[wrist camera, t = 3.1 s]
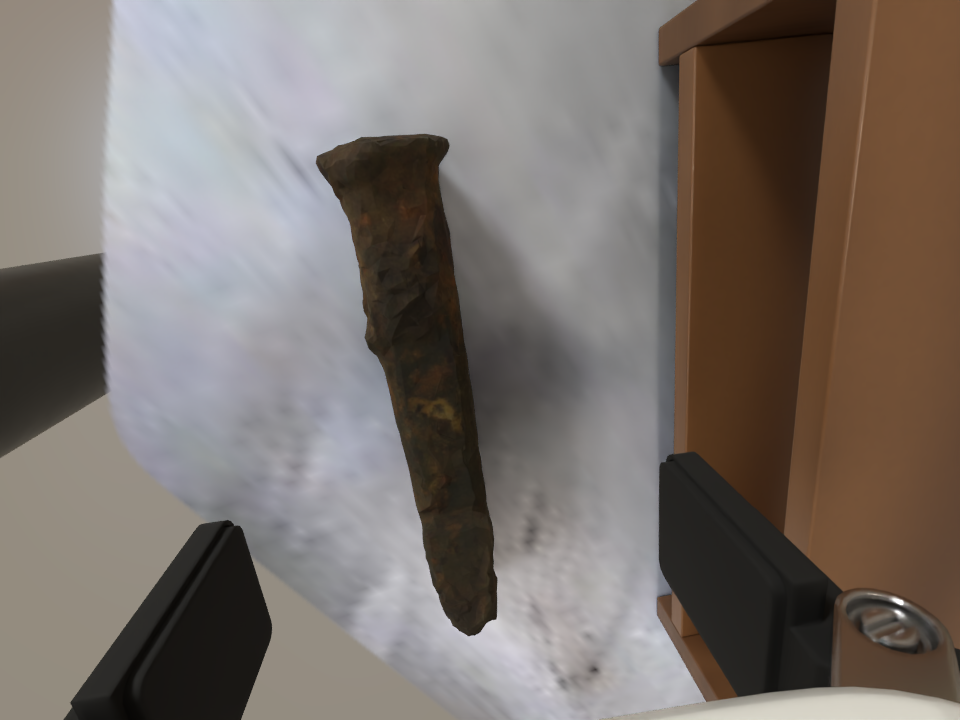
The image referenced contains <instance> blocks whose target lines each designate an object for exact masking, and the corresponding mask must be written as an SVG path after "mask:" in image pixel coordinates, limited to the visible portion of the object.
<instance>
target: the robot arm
mask: <svg viewBox="0 0 960 720" xmlns="http://www.w3.org/2000/svg"><path fill="white" fill-rule="evenodd" d="M659 562H660V567H661V570H662V573H663V575H664V577H665V579H666V581H667V582H668V584H669V585H670V587H671V589H672V590H673V592H674V594H675V595H676V597H677V598H678V600H679V602H680V603H681V605H682V607H683V608H684V610H685V611H686V613H687V615H688V616H689V618H690V620H691V621H692V623H693V624H694V626H695V628H696V629H697V631H698V633H699V634H700V636H701V637H702V639H703V641H704V642H705V644H706V646H707V647H708V649H709V650H710V652H711V654H712V655H713V657H714V659H715V660H716V662H717V664H718V665H719V667H720V668H721V670H722V672H723V673H724V675H725V677H726V678H727V680H728V681H729V683H730V685H731V686H732V688H733V690H734V691H735V693H736V694H737V696H738V697H736V698H729V699H723V700H716V701H709V702H702V703H696V704H689V705H683V706H677V707H671V708H665V709H659V710H653V711H647V712H641V713H635V714H629V715H623V716H617V717H611V718H605V719H599V720H960V649H957V648H954V643H953V640H952V638H951V636H950V634H949V632H948V630H947V628H946V627H945V626H944V625H943V624H942V623H941V622H940V621H939V619H938V618H937V617H935V616H934V615H933V614H931V613H930V612H929V611H927V610H926V609H925V608H923V607H922V606H920V605H918V604H916V603H914V602H913V601H911V600H909V599H907V598H905V597H902V596H899V595H897V594H894V593H891V592H888V591H884V590H879V589H874V588H854V589H850V590H846V591H844V592H843V591H842V590H841V589H840V588H839V587H838V586H837V585H836V584H835V583H834V582H833V581H832V580H831V579H830V578H829V577H828V576H827V575H826V574H824V573H823V572H822V571H821V570H820V569H819V568H818V567H817V566H816V565H815V564H814V563H813V562H812V561H811V560H810V559H809V558H808V557H807V556H806V555H805V554H803V553H802V552H801V551H800V550H799V549H798V548H797V547H796V546H795V545H794V544H793V543H792V542H791V541H790V540H789V539H788V538H787V537H786V536H785V535H784V534H782V533H781V532H780V531H779V530H778V529H777V528H776V527H775V526H774V525H773V524H772V523H771V522H770V521H769V520H768V519H767V518H766V517H765V516H764V515H762V514H761V513H760V512H759V511H758V510H757V509H756V508H754V507H753V506H752V505H751V504H750V503H749V502H748V501H747V500H746V499H745V498H744V497H743V496H742V495H741V494H739V493H738V492H737V491H736V490H735V489H734V488H733V487H732V486H731V485H730V484H729V483H728V482H727V481H726V480H725V479H724V478H723V477H722V476H721V475H720V474H719V473H717V472H716V471H715V470H714V469H713V468H712V467H711V466H710V465H709V464H708V463H707V462H706V461H705V460H704V459H703V458H702V457H701V456H700V455H699V454H697V453H696V452H685V453H679V454H672V455H669V456H668V457H667V459H666V462H662V463H661V464H660V469H659ZM271 634H272V623H271V619H270V616H269V612H268V609H267V606H266V603H265V600H264V597H263V593H262V590H261V587H260V584H259V581H258V578H257V574H256V571H255V568H254V565H253V562H252V558H251V555H250V552H249V549H248V546H247V543H246V539H245V536H244V533H243V530H242V528H241V527H240V526H234V524H233V523H232V522H231V521H229V520H226V521H219V522H212V523H205V524H201V525H199V526H198V527H197V528H196V530H195V531H194V532H193V534H192V535H191V537H190V538H189V539H188V541H187V542H186V543H185V545H184V546H183V548H182V549H181V550H180V552H179V553H178V554H177V556H176V557H175V559H174V560H173V561H172V563H171V564H170V566H169V567H168V568H167V570H166V571H165V572H164V574H163V576H162V577H161V578H160V579H159V581H158V582H157V584H156V585H155V586H154V588H153V589H152V590H151V592H150V593H149V595H148V596H147V597H146V599H145V600H144V602H143V603H142V604H141V606H140V607H139V608H138V610H137V611H136V613H135V614H134V615H133V617H132V618H131V620H130V621H129V622H128V624H127V625H126V627H125V628H124V629H123V631H122V632H121V633H120V635H119V636H118V637H117V639H116V640H115V642H114V643H113V644H112V646H111V647H110V649H109V650H108V651H107V653H106V654H105V655H104V657H103V658H102V660H101V661H100V662H99V664H98V665H97V666H96V668H95V669H94V671H93V672H92V674H91V675H90V676H89V678H88V679H87V680H86V682H85V683H84V684H83V686H82V687H81V689H80V690H79V692H78V693H77V694H76V695H75V697H74V698H73V700H72V701H71V705H72V709H71V710H70V712H69V713H68V714H67V716H66V717H65V718H64V720H241V718H242V715H243V713H244V710H245V707H246V704H247V702H248V699H249V696H250V694H251V691H252V688H253V685H254V683H255V680H256V677H257V675H258V672H259V669H260V667H261V664H262V661H263V658H264V656H265V653H266V650H267V648H268V645H269V642H270V639H271Z"/></svg>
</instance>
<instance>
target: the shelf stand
mask: <svg viewBox="0 0 960 720" xmlns="http://www.w3.org/2000/svg"><path fill="white" fill-rule="evenodd" d="M677 64H679V127H678V199H677V270H676V342H675V413H674V454H679V453H685V452H696V453H697V454H699V455H700V456H701V457H702V458H703V459H704V460H705V461H706V462H707V463H708V464H709V465H710V466H711V467H712V468H713V469H714V470H715V471H716V472H717V473H719V474H720V475H721V476H722V477H723V478H724V479H725V480H726V481H727V482H728V483H729V484H730V485H731V486H732V487H733V488H734V489H735V490H736V491H737V492H738V493H739V494H741V495H742V496H743V497H744V498H745V499H746V500H747V501H748V502H749V503H750V504H751V505H752V506H753V507H754V508H756V509H757V510H758V511H759V512H760V513H761V514H762V515H764V516H765V517H766V518H767V519H768V520H769V521H770V522H771V523H772V524H773V525H774V526H775V527H776V528H777V529H778V530H779V531H780V532H781V533H782V534H784V535H785V536H786V537H787V538H788V539H789V540H790V541H791V542H792V543H793V544H794V545H795V546H796V547H797V548H798V549H799V550H800V551H801V552H802V553H803V554H805V555H806V556H807V557H808V558H809V559H810V560H811V561H812V562H813V563H814V564H815V565H816V566H817V567H818V568H819V569H820V570H821V571H822V572H823V573H824V574H826V575H827V576H828V577H829V578H830V579H831V580H832V581H833V582H834V583H835V584H836V585H837V586H838V587H839V588H840V589H841V590H842V591H843V592H844V591H846V590H850V589H854V588H874V589H879V590H884V591H888V592H891V593H894V594H897V595H899V596H902V597H905V598H907V599H909V600H911V601H913V602H914V603H916V604H918V605H920V606H922V607H923V608H925V609H926V610H927V611H929V612H930V613H931V614H933V615H934V616H935V617H937V618H938V619H939V621H940V622H941V623H942V624H943V625H944V626H945V627H946V628H947V630H948V632H949V634H950V636H951V638H952V640H953V643H954V648H957V649H960V0H697V1H695V2H694V3H693V4H691V5H690V6H689V7H687V8H686V9H685V10H683V11H682V12H680V13H679V14H678V15H676V16H675V17H674V18H672V19H671V20H670V21H668V22H667V23H666V24H664V25H663V26H662V27H660V29H659V65H660V66H667V65H677ZM657 616H658V617H659V619H660V621H661V623H662V624H663V626H664V628H665V630H666V631H667V633H668V635H669V637H670V639H671V640H672V642H673V644H674V646H675V647H676V649H677V651H678V653H679V654H680V656H681V658H682V660H683V661H684V663H685V665H686V667H687V668H688V670H689V672H690V674H691V676H692V677H693V679H694V681H695V683H696V684H697V686H698V688H699V690H700V691H701V693H702V695H703V697H704V698H705V700H706V702H709V701H716V700H723V699H729V698H736V697H738V696H737V694H736V693H735V691H734V690H733V688H732V686H731V685H730V683H729V681H728V680H727V678H726V677H725V675H724V673H723V672H722V670H721V668H720V667H719V665H718V664H717V662H716V660H715V659H714V657H713V655H712V654H711V652H710V650H709V649H708V647H707V646H706V644H705V642H704V641H703V639H702V637H701V636H700V634H699V633H698V631H697V629H696V628H695V626H694V624H693V623H692V621H691V620H690V618H689V616H688V615H687V613H686V611H685V610H684V608H683V607H682V605H681V603H680V602H679V600H678V598H677V597H676V595H675V594H674V592H673V590H672V595H667V596H661V597H658V598H657Z"/></svg>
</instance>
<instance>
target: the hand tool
mask: <svg viewBox="0 0 960 720" xmlns="http://www.w3.org/2000/svg"><path fill="white" fill-rule="evenodd" d="M448 149H449V143H448V140H447V139H446V138H443V137H441V136H435V135H429V134H417V135H396V136H382V137H361V138H359V139H357V140H355V141H353V142H350V143H347V144H344V145H338V146H337V147H335V148H334V149H333V150H331V151H328V152H326V153H323V154H321V155H319V156H317V160H316V164H317V166H318V168H319V171H320V172H321V173H322V175H323V176H324V177H325V179H326V180H327V181H328V183H329V184H330V185H331V186H332V188H333V191H334V193H335V195H336V196H337V198H338V199H339V200H340V203H341V206H342V209H343V210H344V212H345V214H346V215H347V217H348V220H349V222H350V225H351V232H352V239H353V243H354V246H355V251H356V256H357V260H358V262H359V269H360V280H361V286H362V290H363V309H364V312H365V314H366V316H367V329H366V334H365V339H366V342H367V345H368V348H369V349H370V350H371V351H372V352H373V353H374V354H375V355H377V357H378V359H379V361H380V363H381V365H382V367H383V369H384V372H385V375H386V379H387V383H388V387H389V391H390V395H391V400H392V406H393V410H394V415H395V419H396V424H397V427H398V430H399V433H400V437H401V441H402V445H403V449H404V452H405V456H406V460H407V464H408V467H409V471H410V476H411V481H412V486H413V492H414V497H415V502H416V506H417V510H418V513H419V516H420V519H421V523H422V529H423V544H424V549H425V552H426V559H427V562H428V564H429V569H430V574H431V578H432V583H433V586H434V587H435V589H436V591H437V593H438V595H439V599H440V602H441V605H442V607H443V610H444V612H445V614H446V616H447V617H448V618H449V619H450V620H451V622H452V625H453V626H454V627H456V628H457V629H458V630H459V631H461V632H463V633H464V634H466V635H467V636H471V635H474V636H475V635H476V634H478V633H480V632H481V630H482V629H483V627H484V626H485V624H486V623H487V622H489V621H491V620H496V619H497V576H496V575H495V572H494V569H493V564H494V560H493V547H494V535H493V526H492V522H491V519H490V515H489V511H488V507H487V502H486V492H485V484H484V478H483V472H482V465H481V457H480V453H479V447H478V435H477V427H476V420H475V410H474V401H473V394H472V388H471V382H470V377H469V367H468V359H467V353H466V348H465V343H464V338H463V329H462V321H461V313H460V305H459V297H458V291H457V286H456V281H455V276H454V265H453V257H452V250H451V241H450V231H449V228H448V224H447V220H446V217H445V213H444V209H443V204H442V198H441V193H440V187H439V181H438V177H439V164H440V162H441V161H442V159H443V158H444V156H445V155H446V153H447V152H448Z"/></svg>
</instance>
